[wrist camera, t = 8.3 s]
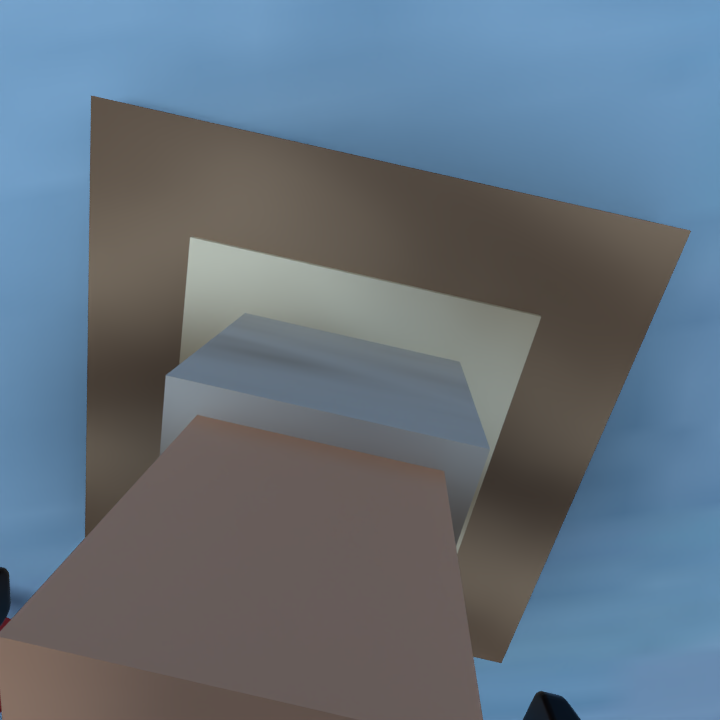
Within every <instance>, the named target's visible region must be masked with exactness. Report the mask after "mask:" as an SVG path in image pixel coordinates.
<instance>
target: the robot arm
mask: <svg viewBox="0 0 720 720" xmlns="http://www.w3.org/2000/svg"><path fill="white" fill-rule="evenodd" d="M10 603H11V601H10V583H9V572H8V571H7V570H6V569H5V568H3V567H0V626H1V625H2V623H3V622H4V620H5V618H6V617H7V615H8V612H9V609H10ZM523 720H581V719H580V718H579V717H578V715H577V714H576V713H575V711H574V710H573V708H572V707H571V706H570V704H569V703H568V702H567V701H566V700H565V699H564V698H563V697H562V696H559V695H556V694H551V693H547V692H543V691H540V692H538V693H536V695H535V696H534V698H533V700H532V702H531V704H530V706H529V708H528V710H527V712H526V714H525V716H524V718H523Z"/></svg>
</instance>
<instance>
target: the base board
mask: <svg viewBox="0 0 720 720" xmlns="http://www.w3.org/2000/svg"><path fill="white" fill-rule="evenodd" d="M690 232H691V231H690V230H685V229H681V228H676V227H672V226H667V225H663V224H658V223H654V222H650V221H645V220H641V219H636V218H632V217H627V216H623V215H619V214H614V213H610V212H605V211H601V210H596V209H592V208H587V207H583V206H579V205H574V204H570V203H565V202H561V201H556V200H552V199H548V198H543V197H539V196H534V195H530V194H525V193H521V192H516V191H512V190H508V189H503V188H499V187H494V186H490V185H485V184H481V183H477V182H472V181H468V180H463V179H459V178H454V177H450V176H445V175H441V174H437V173H432V172H428V171H423V170H419V169H414V168H410V167H406V166H401V165H397V164H392V163H388V162H383V161H379V160H374V159H370V158H366V157H361V156H357V155H352V154H348V153H343V152H339V151H335V150H330V149H326V148H321V147H317V146H312V145H308V144H303V143H299V142H295V141H290V140H286V139H281V138H277V137H272V136H268V135H264V134H259V133H255V132H250V131H246V130H241V129H237V128H232V127H228V126H224V125H219V124H215V123H210V122H206V121H201V120H197V119H193V118H188V117H184V116H179V115H175V114H170V113H166V112H161V111H157V110H153V109H148V108H144V107H139V106H135V105H130V104H126V103H122V102H117V101H113V100H108V99H104V98H99V97H95V96H91V145H90V218H89V291H88V364H87V436H86V509H85V538H86V537H87V535H88V534H89V533H90V532H91V531H92V530H93V529H94V528H95V527H96V526H97V524H98V523H99V522H100V521H101V520H102V519H103V518H104V517H105V516H106V515H107V513H108V512H109V511H110V510H111V509H112V508H113V507H114V506H115V505H116V504H117V502H118V501H119V500H120V499H121V498H122V497H123V496H124V495H125V494H126V493H127V491H128V490H129V489H130V488H131V487H132V486H133V485H134V484H135V483H136V482H137V480H138V479H139V478H140V477H141V476H142V475H143V474H144V473H145V472H146V471H147V469H148V468H149V467H150V466H151V465H152V464H153V463H154V462H155V461H156V460H157V458H158V457H159V456H160V455H161V454H162V453H163V452H164V451H165V450H166V449H167V447H168V446H169V445H170V444H171V443H172V442H173V441H174V440H175V439H176V438H177V436H178V435H179V434H180V433H181V432H182V431H183V430H184V429H185V428H186V427H187V425H188V424H189V423H190V422H191V421H192V420H193V419H194V418H195V417H196V416H197V415H200V416H205V417H209V418H213V419H218V420H222V421H226V422H231V423H235V424H240V425H244V426H248V427H253V428H257V429H262V430H266V431H270V432H275V433H279V434H284V435H288V436H292V437H297V438H301V439H305V440H310V441H314V442H319V443H323V444H327V445H332V446H336V447H341V448H345V449H349V450H354V451H358V452H363V453H367V454H371V455H376V456H380V457H384V458H389V459H393V460H398V461H402V462H406V463H411V464H415V465H420V466H424V467H428V468H433V469H437V470H442V471H444V473H445V479H446V486H447V492H448V499H449V505H450V511H451V518H452V524H453V531H454V537H455V544H456V550H457V556H458V563H459V569H460V576H461V582H462V589H463V595H464V601H465V608H466V614H467V621H468V627H469V634H470V640H471V646H472V653H473V657H477V658H481V659H486V660H490V661H494V662H499V663H502V660H503V658H504V656H505V654H506V651H507V649H508V647H509V644H510V642H511V640H512V638H513V635H514V633H515V631H516V628H517V626H518V624H519V622H520V619H521V617H522V615H523V613H524V610H525V608H526V606H527V603H528V601H529V599H530V597H531V594H532V592H533V590H534V587H535V585H536V583H537V581H538V578H539V576H540V574H541V572H542V569H543V567H544V565H545V562H546V560H547V558H548V556H549V553H550V551H551V549H552V546H553V544H554V542H555V540H556V537H557V535H558V533H559V531H560V528H561V526H562V524H563V521H564V519H565V517H566V515H567V512H568V510H569V508H570V505H571V503H572V501H573V499H574V496H575V494H576V492H577V490H578V487H579V485H580V483H581V480H582V478H583V476H584V474H585V471H586V469H587V467H588V464H589V462H590V460H591V458H592V455H593V453H594V451H595V449H596V446H597V444H598V442H599V439H600V437H601V435H602V433H603V430H604V428H605V426H606V423H607V421H608V419H609V417H610V414H611V412H612V410H613V408H614V405H615V403H616V401H617V398H618V396H619V394H620V392H621V389H622V387H623V385H624V382H625V380H626V378H627V376H628V373H629V371H630V369H631V367H632V364H633V362H634V360H635V357H636V355H637V353H638V351H639V348H640V346H641V344H642V341H643V339H644V337H645V335H646V332H647V330H648V328H649V325H650V323H651V321H652V319H653V316H654V314H655V312H656V310H657V307H658V305H659V303H660V300H661V298H662V296H663V294H664V291H665V289H666V287H667V284H668V282H669V280H670V278H671V275H672V273H673V271H674V269H675V266H676V264H677V262H678V259H679V257H680V255H681V253H682V250H683V248H684V246H685V243H686V241H687V239H688V237H689V234H690Z"/></svg>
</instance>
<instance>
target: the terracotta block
mask: <svg viewBox="0 0 720 720" xmlns="http://www.w3.org/2000/svg"><path fill="white" fill-rule="evenodd" d="M0 696H1V710H2V720H483V717H482V711H481V704H480V698H479V691H478V685H477V679H476V672H475V666H474V659H473V653H472V646H471V640H470V634H469V627H468V621H467V614H466V608H465V601H464V595H463V589H462V582H461V576H460V569H459V563H458V556H457V550H456V544H455V537H454V531H453V524H452V518H451V511H450V505H449V499H448V492H447V486H446V479H445V473H444V471H442V470H437V469H433V468H428V467H424V466H420V465H415V464H411V463H406V462H402V461H398V460H393V459H389V458H384V457H380V456H376V455H371V454H367V453H363V452H358V451H354V450H349V449H345V448H341V447H336V446H332V445H327V444H323V443H319V442H314V441H310V440H305V439H301V438H297V437H292V436H288V435H284V434H279V433H275V432H270V431H266V430H262V429H257V428H253V427H248V426H244V425H240V424H235V423H231V422H226V421H222V420H218V419H213V418H209V417H205V416H200V415H197V416H196V417H195V418H194V419H193V420H192V421H191V422H190V423H189V424H188V425H187V427H186V428H185V429H184V430H183V431H182V432H181V433H180V434H179V435H178V436H177V438H176V439H175V440H174V441H173V442H172V443H171V444H170V445H169V446H168V447H167V449H166V450H165V451H164V452H163V453H162V454H161V455H160V456H159V457H158V458H157V460H156V461H155V462H154V463H153V464H152V465H151V466H150V467H149V468H148V469H147V471H146V472H145V473H144V474H143V475H142V476H141V477H140V478H139V479H138V480H137V482H136V483H135V484H134V485H133V486H132V487H131V488H130V489H129V490H128V491H127V493H126V494H125V495H124V496H123V497H122V498H121V499H120V500H119V501H118V502H117V504H116V505H115V506H114V507H113V508H112V509H111V510H110V511H109V512H108V513H107V515H106V516H105V517H104V518H103V519H102V520H101V521H100V522H99V523H98V524H97V526H96V527H95V528H94V529H93V530H92V531H91V532H90V533H89V534H88V535H87V537H86V538H85V539H84V540H83V541H82V542H81V543H80V544H79V545H78V546H77V548H76V549H75V550H74V551H73V552H72V553H71V554H70V555H69V556H68V557H67V559H66V560H65V561H64V562H63V563H62V564H61V565H60V566H59V567H58V568H57V570H56V571H55V572H54V573H53V574H52V575H51V576H50V577H49V578H48V579H47V581H46V582H45V583H44V584H43V585H42V586H41V587H40V588H39V589H38V590H37V592H36V593H35V594H34V595H33V596H32V597H31V598H30V599H29V600H28V601H27V603H26V604H25V605H24V606H23V607H22V608H21V609H20V610H19V611H18V612H17V614H16V615H15V616H14V617H13V618H12V619H11V620H10V621H9V622H8V623H7V625H6V626H5V627H4V628H3V629H2V630H1V631H0Z"/></svg>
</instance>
